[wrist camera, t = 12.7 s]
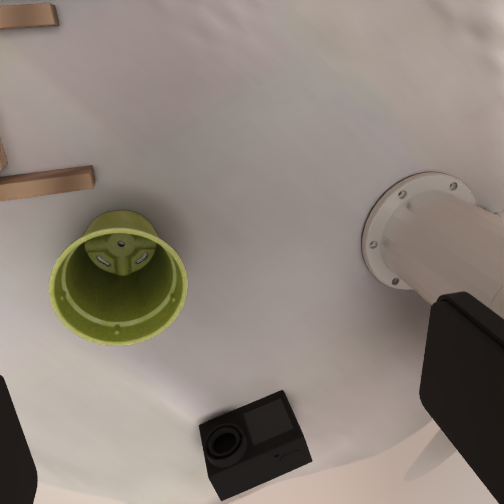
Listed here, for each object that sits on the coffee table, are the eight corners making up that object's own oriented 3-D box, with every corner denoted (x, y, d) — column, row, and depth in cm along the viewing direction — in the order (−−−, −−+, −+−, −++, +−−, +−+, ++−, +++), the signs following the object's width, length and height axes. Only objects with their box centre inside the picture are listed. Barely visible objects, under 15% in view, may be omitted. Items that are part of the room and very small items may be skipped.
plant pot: (198, 235, 40) (214, 279, 33) (130, 307, 42) (131, 366, 34) (112, 167, 36) (108, 200, 29) (40, 250, 38) (18, 303, 30)
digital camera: (281, 381, 50) (302, 428, 44) (292, 413, 53) (314, 462, 47) (194, 417, 49) (203, 470, 43) (210, 448, 52) (221, 502, 46)
